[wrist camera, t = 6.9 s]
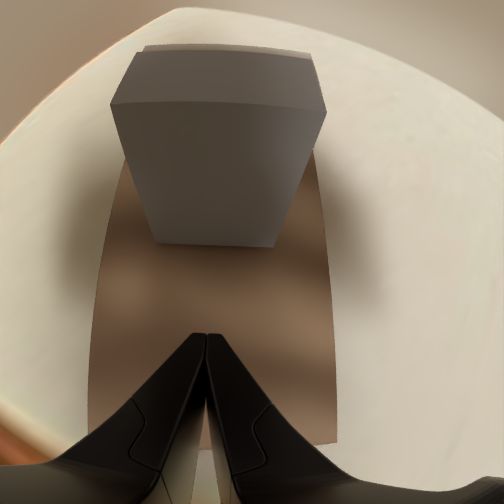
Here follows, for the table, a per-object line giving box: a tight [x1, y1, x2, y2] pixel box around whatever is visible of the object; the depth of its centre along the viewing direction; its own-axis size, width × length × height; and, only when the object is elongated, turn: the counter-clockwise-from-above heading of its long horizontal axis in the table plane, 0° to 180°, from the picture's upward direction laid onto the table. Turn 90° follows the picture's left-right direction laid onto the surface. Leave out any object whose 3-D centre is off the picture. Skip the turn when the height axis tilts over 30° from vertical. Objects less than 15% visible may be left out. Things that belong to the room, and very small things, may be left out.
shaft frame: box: [88, 44, 337, 450], centre depth 14 cm, size 20×12×8 cm, turn 0°
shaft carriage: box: [110, 50, 327, 248], centre depth 14 cm, size 13×6×9 cm, turn 0°
